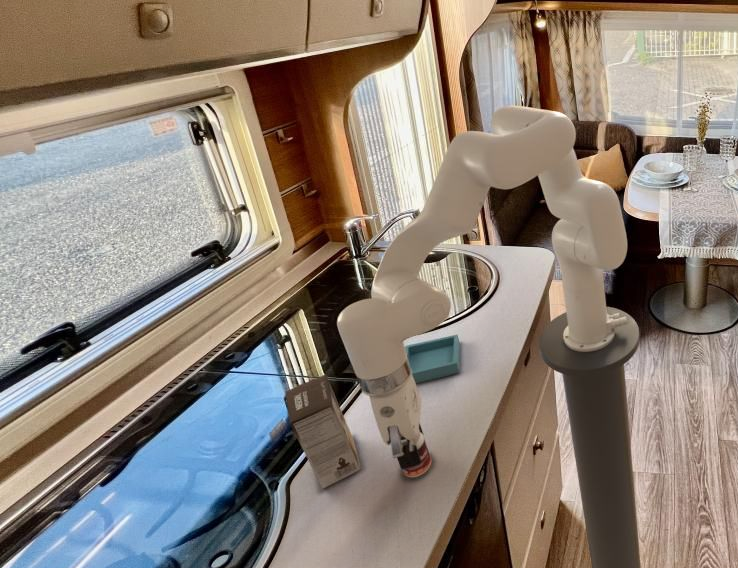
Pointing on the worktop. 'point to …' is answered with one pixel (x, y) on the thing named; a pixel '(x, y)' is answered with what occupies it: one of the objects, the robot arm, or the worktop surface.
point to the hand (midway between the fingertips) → (412, 451)
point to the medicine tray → (434, 358)
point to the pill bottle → (424, 456)
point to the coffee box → (322, 431)
